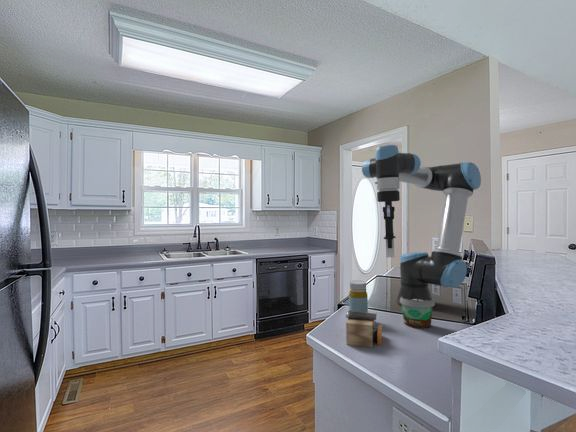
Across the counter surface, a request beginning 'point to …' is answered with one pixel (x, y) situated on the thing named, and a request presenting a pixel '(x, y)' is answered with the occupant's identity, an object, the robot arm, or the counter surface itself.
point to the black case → (377, 334)
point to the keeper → (361, 315)
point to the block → (360, 332)
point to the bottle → (358, 296)
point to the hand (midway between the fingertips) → (390, 256)
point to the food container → (417, 312)
